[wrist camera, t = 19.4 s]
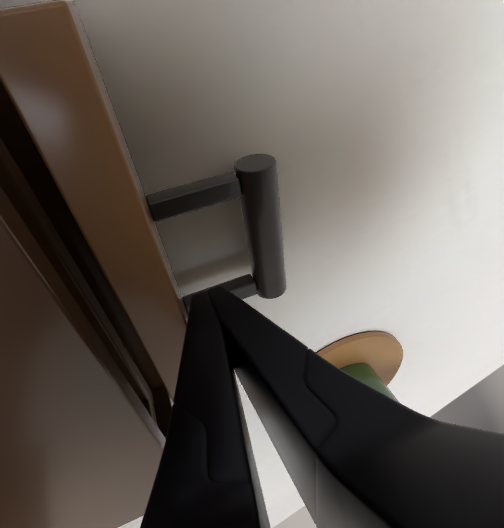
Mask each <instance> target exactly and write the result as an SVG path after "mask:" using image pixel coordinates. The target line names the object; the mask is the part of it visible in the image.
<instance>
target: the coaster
mask: <svg viewBox="0 0 504 528" xmlns="http://www.w3.org/2000/svg"><path fill="white" fill-rule="evenodd" d="M317 354H318V355H320V356H321V357H322V358H324V359H325V360H327V361H328V362H330V363H331V364H333V365H334V366H336V367H337V368H339V369H341V368H343V367H346V366H348V365H351V364H356V363H365V364H368V365H370V366H371V367H372V368H373V369H374V371H375V372H376V373H377V374H378V376H379V377H380V378H381V380H382V381H383V382H384V383H385V385H386V386H387V385H388V384H389V383H390V381H391V380H392V379H393V377H394V376H395V374H396V373H397V371H398V369H399V367H400V364H401V362H402V357H403V350H402V347H401V345H400V343H399V342H398V341H397V340H396V339H395V338H394V337H393V336H392V335H390V334H388V333H384V332H376V331H375V332H365V333H359V334H356V335H352V336H349V337H347V338H344V339H341V340H339V341H337V342H335V343H333V344H331V345H329V346H327V347H326V348H324V349H322V350H321V351H319V352H318V353H317Z"/></svg>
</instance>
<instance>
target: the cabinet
mask: <svg viewBox="0 0 504 528" xmlns="http://www.w3.org/2000/svg"><path fill="white" fill-rule="evenodd" d="M0 136H1V138H2V140H3V141H4V143H5V145H6V147H7V148H8V150H9V152H10V153H11V155H12V157H13V158H14V160H15V162H16V163H17V165H18V167H19V168H20V170H21V172H22V174H23V175H24V177H25V179H26V180H27V182H28V184H29V185H30V187H31V189H32V190H33V192H34V194H35V195H36V197H37V199H38V201H39V202H40V204H41V206H42V207H43V209H44V211H45V212H46V214H47V216H48V217H49V219H50V221H51V222H52V224H53V226H54V228H55V229H56V231H57V233H58V234H59V236H60V238H61V239H62V241H63V243H64V244H65V246H66V248H67V249H68V251H69V253H70V255H71V256H72V258H73V260H74V261H75V263H76V265H77V266H78V268H79V270H80V271H81V273H82V275H83V277H84V278H85V280H86V282H87V283H88V285H89V287H90V288H91V290H92V292H93V293H94V295H95V297H96V298H97V300H98V302H99V304H100V305H101V307H102V309H103V310H104V312H105V314H106V315H107V317H108V319H109V320H110V322H111V324H112V325H113V327H114V329H115V331H116V332H117V334H118V336H119V337H120V339H121V341H122V342H123V344H124V346H125V347H126V349H127V351H128V352H129V354H130V356H131V358H132V359H133V361H134V363H135V364H136V366H137V368H138V369H139V371H140V373H141V374H142V376H143V378H144V379H145V381H146V383H147V385H148V386H149V388H150V390H151V391H152V395H153V401H154V409H155V413H156V420H157V425H156V423H155V422H154V420H153V419H152V417H151V416H150V414H149V413H148V411H147V410H146V408H145V407H144V405H143V404H142V402H141V400H140V399H139V397H138V396H137V394H136V393H135V391H134V390H133V388H132V387H131V385H130V384H129V382H128V381H127V379H126V378H125V376H124V374H123V373H122V371H121V370H120V368H119V367H118V365H117V364H116V362H115V361H114V359H113V358H112V356H111V355H110V353H109V351H108V350H107V348H106V347H105V345H104V344H103V342H102V341H101V339H100V338H99V336H98V335H97V333H96V332H95V330H94V329H93V327H92V325H91V324H90V322H89V321H88V319H87V318H86V316H85V315H84V313H83V312H82V310H81V309H80V307H79V306H78V304H77V302H76V301H75V299H74V298H73V296H72V295H71V293H70V292H69V290H68V289H67V287H66V286H65V284H64V283H63V281H62V279H61V278H60V276H59V275H58V273H57V272H56V270H55V269H54V267H53V266H52V264H51V263H50V261H49V260H48V258H47V257H46V255H45V253H44V252H43V250H42V249H41V247H40V246H39V244H38V243H37V241H36V240H35V238H34V237H33V235H32V234H31V232H30V230H29V229H28V227H27V226H26V224H25V223H24V221H23V220H22V218H21V217H20V215H19V214H18V212H17V211H16V209H15V208H14V206H13V204H12V203H11V201H10V200H9V198H8V197H7V195H6V194H5V192H4V191H3V189H2V188H1V186H0V528H118V527H120V526H122V525H124V524H126V523H128V522H131V521H133V520H135V519H137V518H139V517H141V516H143V515H144V513H145V510H146V507H147V503H148V500H149V497H150V493H151V490H152V487H153V484H154V480H155V477H156V474H157V470H158V467H159V463H160V460H161V456H162V452H163V449H164V445H165V441H166V436H167V431H168V426H169V422H170V416H171V411H172V405H173V404H174V403H173V401H172V399H171V397H170V396H169V394H168V392H167V390H166V388H165V386H164V384H163V383H162V381H161V379H160V377H159V375H158V373H157V371H156V369H155V368H154V366H153V364H152V362H151V360H150V358H149V356H148V355H147V353H146V351H145V349H144V347H143V345H142V343H141V342H140V340H139V338H138V336H137V334H136V332H135V330H134V328H133V327H132V325H131V323H130V321H129V319H128V317H127V315H126V314H125V312H124V310H123V308H122V306H121V304H120V302H119V300H118V299H117V297H116V295H115V293H114V291H113V289H112V287H111V286H110V284H109V282H108V280H107V278H106V276H105V274H104V273H103V271H102V269H101V267H100V265H99V263H98V261H97V259H96V258H95V256H94V254H93V252H92V250H91V248H90V246H89V245H88V243H87V241H86V239H85V237H84V235H83V233H82V231H81V230H80V228H79V226H78V224H77V222H76V220H75V218H74V217H73V215H72V213H71V211H70V209H69V207H68V205H67V204H66V202H65V200H64V198H63V196H62V194H61V192H60V190H59V189H58V187H57V185H56V183H55V181H54V179H53V177H52V176H51V174H50V172H49V170H48V168H47V166H46V164H45V162H44V161H43V159H42V157H41V155H40V153H39V151H38V149H37V148H36V146H35V144H34V142H33V140H32V138H31V136H30V135H29V133H28V131H27V129H26V127H25V125H24V123H23V121H22V120H21V118H20V116H19V114H18V112H17V110H16V108H15V107H14V105H13V103H12V101H11V99H10V97H9V95H8V93H7V92H6V90H5V88H4V86H3V84H2V82H1V80H0ZM157 426H158V427H157Z"/></svg>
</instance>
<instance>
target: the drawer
mask: <svg viewBox="0 0 504 528" xmlns="http://www.w3.org/2000/svg"><path fill="white" fill-rule="evenodd" d="M0 80H1V82H2V84H3V86H4V88H5V90H6V92H7V93H8V95H9V97H10V99H11V101H12V103H13V105H14V107H15V108H16V110H17V112H18V114H19V116H20V118H21V120H22V121H23V123H24V125H25V127H26V129H27V131H28V133H29V135H30V136H31V138H32V140H33V142H34V144H35V146H36V148H37V149H38V151H39V153H40V155H41V157H42V159H43V161H44V162H45V164H46V166H47V168H48V170H49V172H50V174H51V176H52V177H53V179H54V181H55V183H56V185H57V187H58V189H59V190H60V192H61V194H62V196H63V198H64V200H65V202H66V204H67V205H68V207H69V209H70V211H71V213H72V215H73V217H74V218H75V220H76V222H77V224H78V226H79V228H80V230H81V231H82V233H83V235H84V237H85V239H86V241H87V243H88V245H89V246H90V248H91V250H92V252H93V254H94V256H95V258H96V259H97V261H98V263H99V265H100V267H101V269H102V271H103V273H104V274H105V276H106V278H107V280H108V282H109V284H110V286H111V287H112V289H113V291H114V293H115V295H116V297H117V299H118V300H119V302H120V304H121V306H122V308H123V310H124V312H125V314H126V315H127V317H128V319H129V321H130V323H131V325H132V327H133V328H134V330H135V332H136V334H137V336H138V338H139V340H140V342H141V343H142V345H143V347H144V349H145V351H146V353H147V355H148V356H149V358H150V360H151V362H152V364H153V366H154V368H155V369H156V371H157V373H158V375H159V377H160V379H161V381H162V383H163V384H164V386H165V388H166V390H167V392H168V394H169V396H170V397H171V399H172V401H173V400H174V394H175V389H176V383H177V377H178V372H179V366H180V360H181V355H182V349H183V343H184V337H185V332H186V326H187V320H188V315H189V309H190V303H191V298H192V295H193V294H194V293H192V294H190V295H187V296H184V297H183V299H182V296H181V294H180V291H179V288H178V285H177V283H176V280H175V277H174V274H173V272H172V269H171V266H170V263H169V261H168V258H167V255H166V252H165V250H164V247H163V244H162V241H161V239H160V236H159V233H158V230H157V228H156V225H155V222H157V221H161V220H164V219H168V218H171V217H174V216H178V215H181V214H184V213H188V212H191V211H194V210H198V209H201V208H205V207H208V206H211V205H215V204H218V203H221V202H225V201H228V200H231V199H235V198H238V197H240V204H241V210H242V216H243V222H244V228H245V234H246V240H247V246H248V252H249V258H250V264H251V270H252V276H253V277H252V276H251V274H247V275H244V276H241V277H239V278H236V279H233V280H230V281H227V282H224V283H221V284H218V285H222V286H223V287H225V288H226V289H227V290H229V291H230V292H232V293H233V294H234V295H236V296H237V297H238V298H240V299H241V300H242V299H244V298H247V297H250V296H253V295H255V294H258V295H259V296H260V297H262V298H266V299H273V298H277V297H279V296H281V295H282V294H283V293H284V292H285V290H286V276H285V263H284V251H283V238H282V226H281V214H280V201H279V189H278V177H277V164H276V159H275V158H274V157H273V156H271V155H267V154H254V155H249V156H245V157H243V158H241V159H239V160H238V161H237V162H236V163H235V166H234V167H235V173H236V175H235V174H234V172H229V173H225V174H222V175H218V176H215V177H211V178H208V179H204V180H200V181H197V182H193V183H190V184H186V185H183V186H179V187H175V188H172V189H168V190H165V191H161V192H158V193H154V194H150V195H147V196H146V197H145V194H144V192H143V189H142V186H141V183H140V181H139V178H138V175H137V172H136V170H135V167H134V164H133V161H132V159H131V156H130V153H129V150H128V148H127V145H126V142H125V139H124V137H123V134H122V131H121V128H120V126H119V123H118V120H117V117H116V115H115V112H114V109H113V106H112V104H111V101H110V98H109V95H108V92H107V90H106V87H105V84H104V81H103V79H102V76H101V73H100V70H99V68H98V65H97V62H96V59H95V57H94V54H93V51H92V48H91V46H90V43H89V40H88V37H87V35H86V32H85V29H84V26H83V24H82V21H81V18H80V15H79V13H78V10H77V7H76V4H75V3H74V2H73V1H70V0H53V1H47V2H40V3H34V4H27V5H21V6H15V7H8V8H2V9H0ZM0 186H1V188H2V189H3V191H4V192H5V194H6V195H7V197H8V198H9V200H10V201H11V203H12V204H13V206H14V208H15V209H16V211H17V212H18V214H19V215H20V217H21V218H22V220H23V221H24V223H25V224H26V226H27V227H28V229H29V230H30V232H31V234H32V235H33V237H34V238H35V240H36V241H37V243H38V244H39V246H40V247H41V249H42V250H43V252H44V253H45V255H46V257H47V258H48V260H49V261H50V263H51V264H52V266H53V267H54V269H55V270H56V272H57V273H58V275H59V276H60V278H61V279H62V281H63V283H64V284H65V286H66V287H67V289H68V290H69V292H70V293H71V295H72V296H73V298H74V299H75V301H76V302H77V304H78V306H79V307H80V309H81V310H82V312H83V313H84V315H85V316H86V318H87V319H88V321H89V322H90V324H91V325H92V327H93V329H94V330H95V332H96V333H97V335H98V336H99V338H100V339H101V341H102V342H103V344H104V345H105V347H106V348H107V350H108V351H109V353H110V355H111V356H112V358H113V359H114V361H115V362H116V364H117V365H118V367H119V368H120V370H121V371H122V373H123V374H124V376H125V378H126V379H127V381H128V382H129V384H130V385H131V387H132V388H133V390H134V391H135V393H136V394H137V396H138V397H139V399H140V400H141V402H142V404H143V405H144V407H145V408H146V410H147V411H148V413H149V414H150V416H151V417H152V419H153V420H154V422H155V423H156V425H157V420H156V413H155V409H154V401H153V395H152V391H151V390H150V388H149V386H148V385H147V383H146V381H145V379H144V378H143V376H142V374H141V373H140V371H139V369H138V368H137V366H136V364H135V363H134V361H133V359H132V358H131V356H130V354H129V352H128V351H127V349H126V347H125V346H124V344H123V342H122V341H121V339H120V337H119V336H118V334H117V332H116V331H115V329H114V327H113V325H112V324H111V322H110V320H109V319H108V317H107V315H106V314H105V312H104V310H103V309H102V307H101V305H100V304H99V302H98V300H97V298H96V297H95V295H94V293H93V292H92V290H91V288H90V287H89V285H88V283H87V282H86V280H85V278H84V277H83V275H82V273H81V271H80V270H79V268H78V266H77V265H76V263H75V261H74V260H73V258H72V256H71V255H70V253H69V251H68V249H67V248H66V246H65V244H64V243H63V241H62V239H61V238H60V236H59V234H58V233H57V231H56V229H55V228H54V226H53V224H52V222H51V221H50V219H49V217H48V216H47V214H46V212H45V211H44V209H43V207H42V206H41V204H40V202H39V201H38V199H37V197H36V195H35V194H34V192H33V190H32V189H31V187H30V185H29V184H28V182H27V180H26V179H25V177H24V175H23V174H22V172H21V170H20V168H19V167H18V165H17V163H16V162H15V160H14V158H13V157H12V155H11V153H10V152H9V150H8V148H7V147H6V145H5V143H4V141H3V140H2V138H1V136H0ZM154 221H155V222H154ZM215 286H216V285H215ZM213 287H214V286H213ZM210 288H211V287H210ZM207 289H208V288H207ZM207 289H204V290H207ZM201 291H202V290H201ZM198 292H199V291H198ZM195 293H196V292H195ZM157 427H158V426H157Z"/></svg>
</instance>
